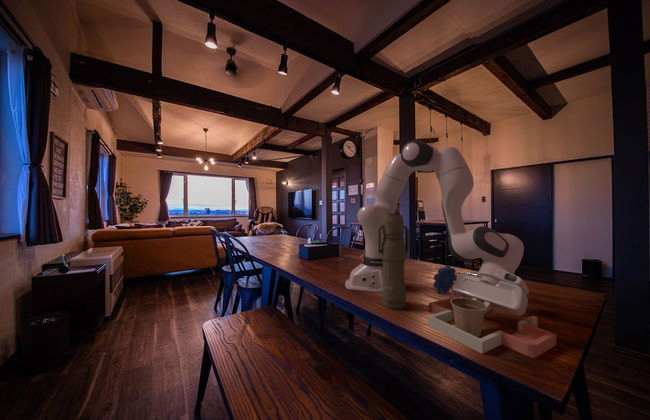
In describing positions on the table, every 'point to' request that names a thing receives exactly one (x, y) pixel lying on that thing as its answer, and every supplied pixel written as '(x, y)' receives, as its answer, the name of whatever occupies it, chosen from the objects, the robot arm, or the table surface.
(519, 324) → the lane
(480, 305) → the flower pot
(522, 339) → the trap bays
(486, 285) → the robot arm
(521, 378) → the table surface
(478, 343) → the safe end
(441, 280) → the grapes
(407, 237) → the thermos
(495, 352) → the table surface
